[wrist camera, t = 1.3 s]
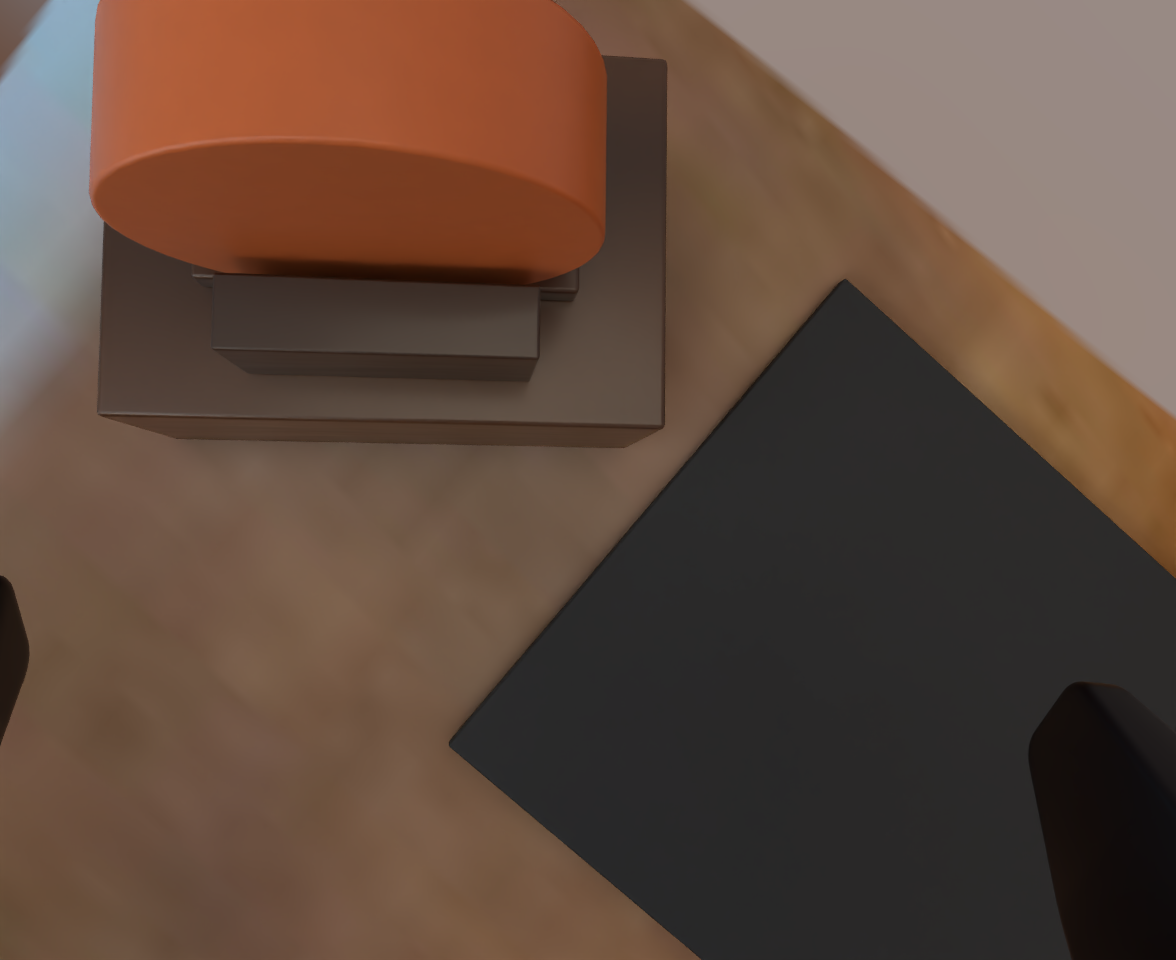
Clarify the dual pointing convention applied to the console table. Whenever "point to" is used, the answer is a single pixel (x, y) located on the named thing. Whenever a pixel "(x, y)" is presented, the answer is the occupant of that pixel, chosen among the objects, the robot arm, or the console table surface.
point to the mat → (832, 669)
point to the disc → (352, 136)
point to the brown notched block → (410, 332)
